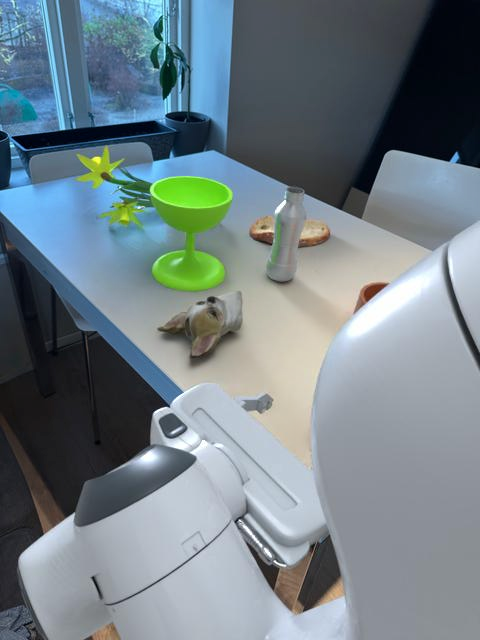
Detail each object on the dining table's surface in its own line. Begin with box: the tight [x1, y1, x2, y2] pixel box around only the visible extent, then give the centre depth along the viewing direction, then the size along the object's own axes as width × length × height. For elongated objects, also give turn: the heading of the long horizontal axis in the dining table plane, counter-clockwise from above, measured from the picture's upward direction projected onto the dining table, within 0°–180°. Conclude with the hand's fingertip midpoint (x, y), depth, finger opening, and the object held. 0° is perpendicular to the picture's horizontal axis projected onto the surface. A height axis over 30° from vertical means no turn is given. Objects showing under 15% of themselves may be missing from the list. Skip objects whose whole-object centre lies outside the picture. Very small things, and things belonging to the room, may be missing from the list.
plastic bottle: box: [266, 186, 307, 282], centre depth 93 cm, size 6×7×20 cm
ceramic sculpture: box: [156, 290, 244, 360], centre depth 78 cm, size 11×9×15 cm
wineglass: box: [149, 175, 234, 292], centre depth 92 cm, size 16×16×18 cm
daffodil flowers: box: [73, 144, 155, 230], centre depth 111 cm, size 17×15×35 cm
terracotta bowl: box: [352, 281, 391, 316], centre depth 85 cm, size 12×12×7 cm
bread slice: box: [248, 215, 331, 248], centre depth 115 cm, size 18×18×4 cm
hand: (297, 424), depth 51 cm, fingers open, 8 cm apart
